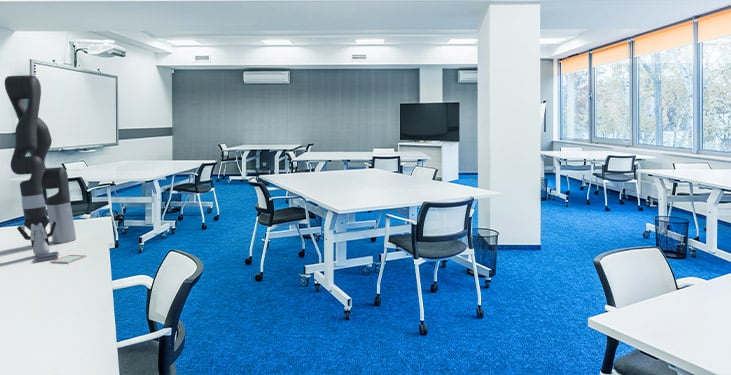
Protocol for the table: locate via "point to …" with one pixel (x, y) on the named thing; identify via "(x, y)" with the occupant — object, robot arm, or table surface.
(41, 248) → the salt shaker
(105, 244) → the table surface
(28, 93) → the robot arm
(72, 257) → the marked square
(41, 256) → the ink pad
